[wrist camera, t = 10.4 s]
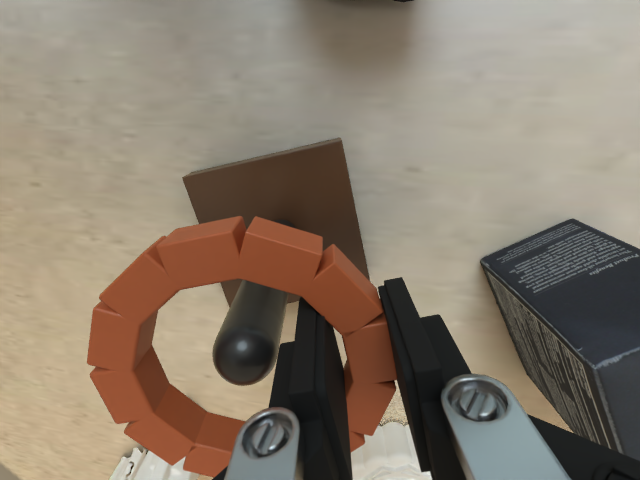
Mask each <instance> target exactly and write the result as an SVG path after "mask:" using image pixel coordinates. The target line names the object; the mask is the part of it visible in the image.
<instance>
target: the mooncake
mask: <svg viewBox="0 0 640 480" xmlns="http://www.w3.org/2000/svg"><path fill="white" fill-rule="evenodd" d="M364 437H365V444H364V445H362V446H361V447H359V448H357V449H356V450H354V451H353V452H351V464H352V477H353V480H432V477H431V474H430V471H428V472H421V469H420V466H419V462H418V458H417V454H416V450H415V447H414V443H413V439H412V435H411V431H410V428H409V424H408V425H406V426H403V425H402V424H400V423H398V422H388V423H386V424H384V425H383V426H379V425H378V426H377V428H376V430H375V432H374V434H373V436H369V435H365V434H364Z"/></svg>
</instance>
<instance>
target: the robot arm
mask: <svg viewBox="0 0 640 480" xmlns="http://www.w3.org/2000/svg"><path fill="white" fill-rule="evenodd" d="M378 289H379V295H380V300H381V303H382V307H383V310H384V314H385V318H386V321H387V325H388V331H389V336H390V341H391V346H392V352H393V357H394V362H395V368H396V373H397V378H398V379H397V382H398V386H399V389H400V393H401V397H402V401H403V405H404V408H405V412H406V416H407V420H408V424H409V428H410V431H411V435H412V439H413V443H414V447H415V450H416V454H417V458H418V462H419V466H420V469H421V472H428V471H430V474H431V477H432V480H640V461H639V460H636V459H634V458H631V457H629V456H627V455H624V454H622V453H619V452H617V451H615V450H612V449H610V448H607V447H605V446H603V445H600V444H598V443H595V442H593V441H591V440H588V439H586V438H583V437H581V436H579V435H576V434H574V433H571V432H569V431H567V430H564V429H562V428H559V427H557V426H555V425H552V424H550V423H547V422H545V421H543V420H540V419H538V418H535V417H533V416H531V415H528V414H526V412H525V411H524V409H523V408H522V406H521V405H520V403H519V402H518V400H517V399H516V397H515V396H514V394H513V393H512V392H511V391H510V390H509V389H508V388H507V386H506V385H504V384H503V383H501V382H500V381H498V380H496V379H494V378H491V377H489V376H486V375H479V374H472V373H471V371H470V369H469V368H468V366H467V364H466V362H465V360H464V358H463V357H462V355H461V353H460V351H459V349H458V347H457V345H456V344H455V342H454V340H453V338H452V336H451V334H450V332H449V331H448V329H447V327H446V325H445V323H444V321H443V320H442V318H441V316H440V315H432V316H427V317H422V318H420V317H419V315H418V312H417V310H416V308H415V306H414V303H413V301H412V299H411V297H410V294H409V292H408V290H407V288H406V285H405V283H404V281H403V279H402V277H400V278H395V279H390V280H385V281H384V286H379V287H378ZM212 480H353V477H352V464H351V451H350V438H349V425H348V412H347V400H346V394H345V381H344V369H343V365H342V361H341V357H340V353H339V349H338V345H337V341H336V337H335V333H334V329H333V326H332V325H331V324H330V323H329V322H328V321H327V320H326V319H325V316H321V315H320V314H319V313H318V312H317V311H316V310H315V309H314V308H313V307H312V306H311V305H310V304H309V303H308V302H307V301H306V300H305V299H304V298H303V297H300V299H299V308H298V316H297V324H296V333H295V341H293V342H287V343H282V344H281V345H280V347H279V353H278V358H277V364H276V369H275V375H274V381H273V386H272V392H271V398H270V403H269V408H267V409H264V410H262V411H260V412H258V413H256V414H254V415H253V416H252V417H250V418H249V419H248V420H247V421H246V422H245V423H244V424H243V426H242V427H241V428H240V430H239V432H238V434H237V437H236V440H235V443H234V447H233V450H232V454H231V457H230V461H229V464H228V466H227V467H225V468H224V469H223V470H222V471H221V472H220V473H219V474H218V475H217V476H216V477H214V478H213V479H212Z"/></svg>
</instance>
